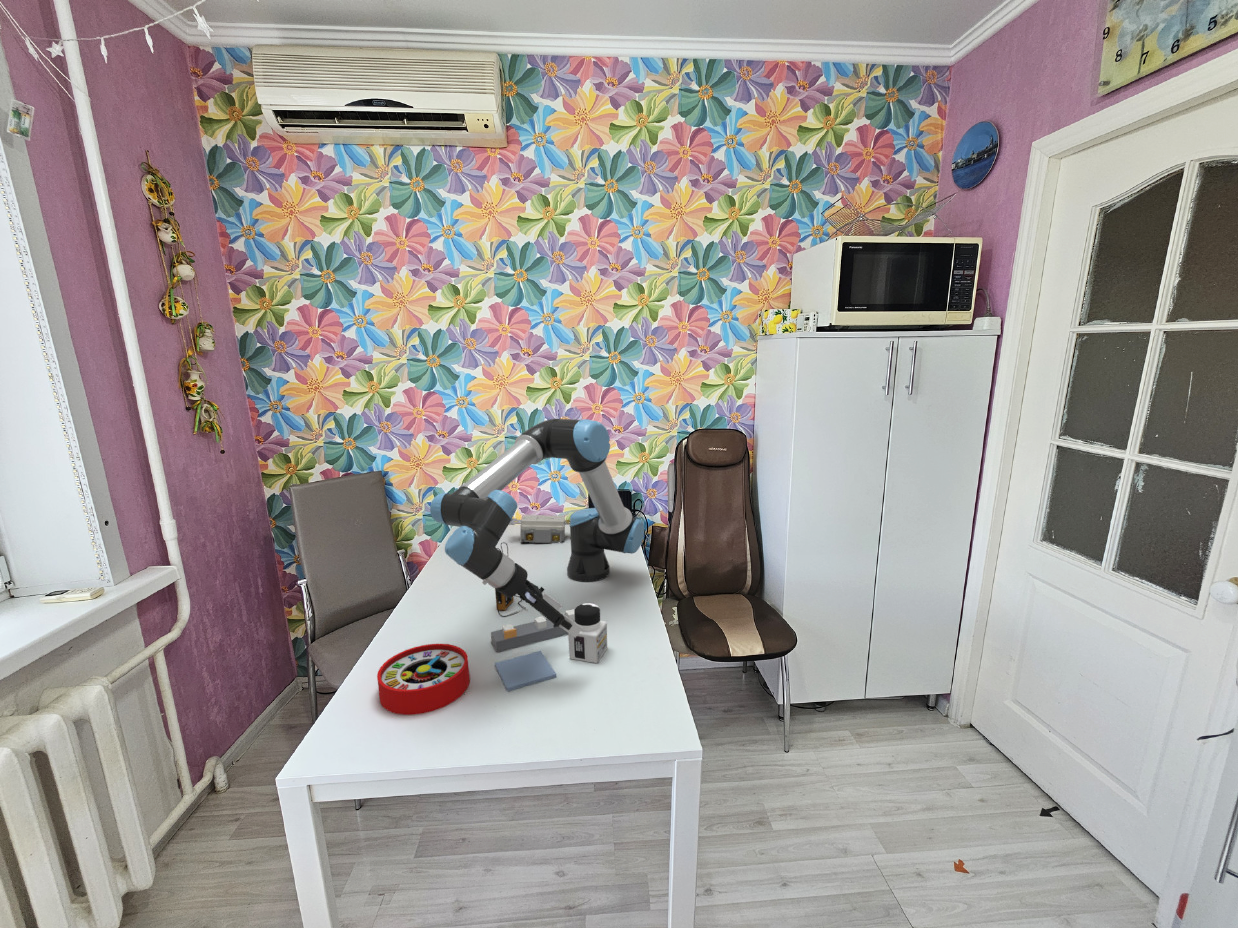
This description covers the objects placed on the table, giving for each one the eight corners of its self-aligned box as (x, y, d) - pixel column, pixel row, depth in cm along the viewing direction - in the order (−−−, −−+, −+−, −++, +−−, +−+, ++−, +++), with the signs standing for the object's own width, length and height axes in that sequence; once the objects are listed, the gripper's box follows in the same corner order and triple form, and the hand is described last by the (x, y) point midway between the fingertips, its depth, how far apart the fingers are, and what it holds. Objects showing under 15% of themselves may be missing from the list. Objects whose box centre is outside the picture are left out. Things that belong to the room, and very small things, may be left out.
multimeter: (522, 618, 160) (518, 554, 156) (491, 616, 162) (486, 552, 158) (539, 597, 174) (536, 538, 170) (510, 595, 176) (506, 536, 172)
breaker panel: (580, 620, 158) (579, 604, 157) (588, 628, 153) (587, 612, 152) (491, 642, 147) (490, 625, 146) (496, 652, 141) (495, 634, 141)
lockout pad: (540, 653, 141) (540, 650, 140) (556, 676, 130) (556, 673, 130) (494, 665, 135) (494, 662, 135) (507, 691, 125) (507, 688, 125)
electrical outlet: (510, 536, 234) (510, 513, 232) (576, 537, 236) (577, 514, 235) (507, 544, 222) (507, 521, 221) (576, 545, 225) (577, 522, 223)
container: (597, 663, 135) (595, 615, 133) (569, 658, 138) (566, 611, 135) (607, 648, 142) (606, 602, 140) (580, 643, 145) (578, 598, 142)
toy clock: (356, 683, 120) (415, 638, 138) (359, 706, 121) (417, 659, 140) (433, 698, 114) (484, 649, 132) (436, 722, 115) (485, 671, 134)
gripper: (482, 570, 136) (542, 612, 145) (508, 609, 114) (577, 656, 123) (502, 546, 137) (560, 590, 147) (531, 581, 115) (597, 629, 125)
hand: (568, 620), depth 135 cm, fingers open, 13 cm apart
